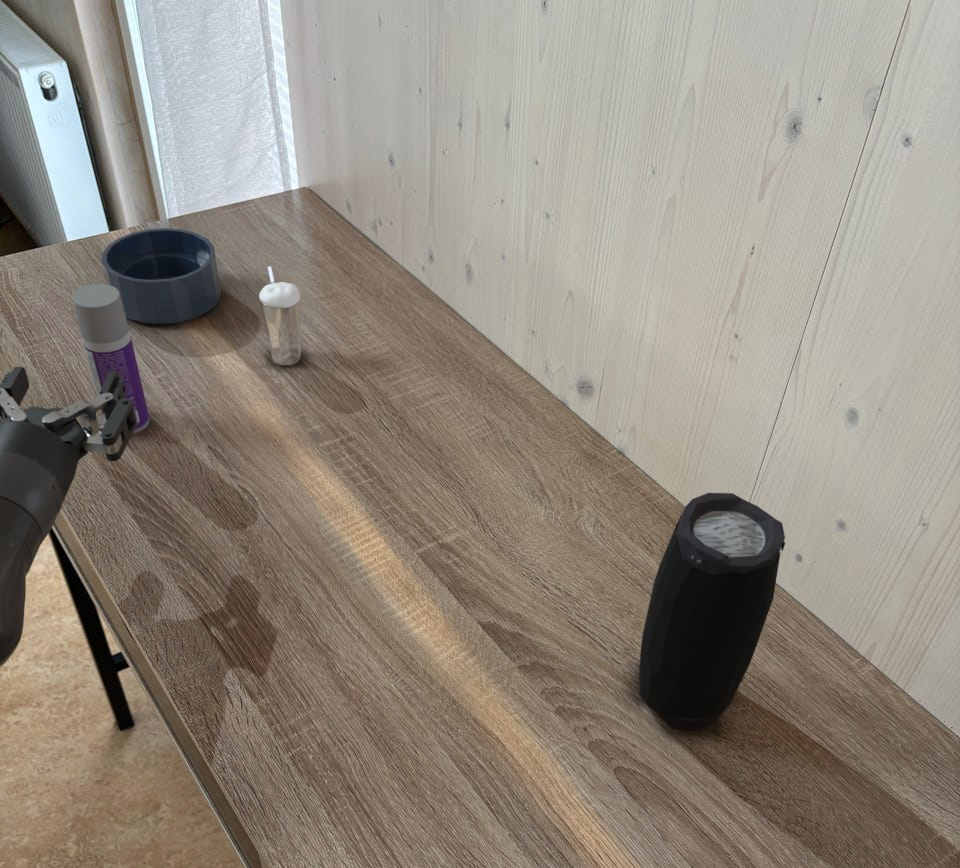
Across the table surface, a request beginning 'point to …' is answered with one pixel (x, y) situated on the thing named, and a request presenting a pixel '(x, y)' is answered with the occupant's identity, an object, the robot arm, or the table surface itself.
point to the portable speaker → (708, 608)
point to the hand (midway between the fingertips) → (69, 377)
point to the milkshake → (282, 320)
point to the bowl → (163, 274)
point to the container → (109, 343)
